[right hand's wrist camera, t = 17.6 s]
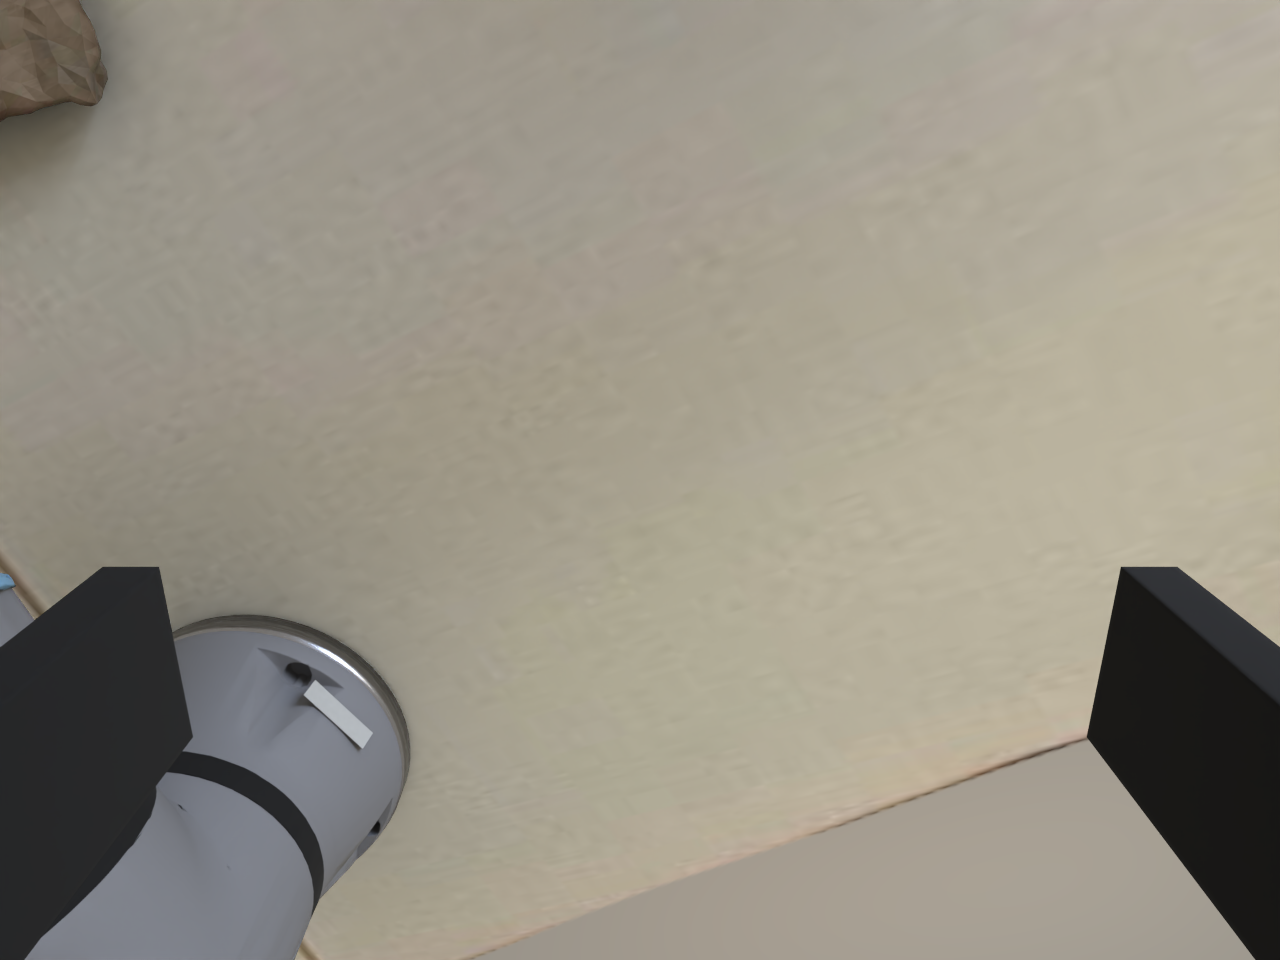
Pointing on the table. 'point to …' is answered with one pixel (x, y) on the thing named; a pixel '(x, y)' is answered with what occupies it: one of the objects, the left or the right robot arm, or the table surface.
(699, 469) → the table surface
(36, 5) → the stone
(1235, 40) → the table surface
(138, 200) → the table surface
